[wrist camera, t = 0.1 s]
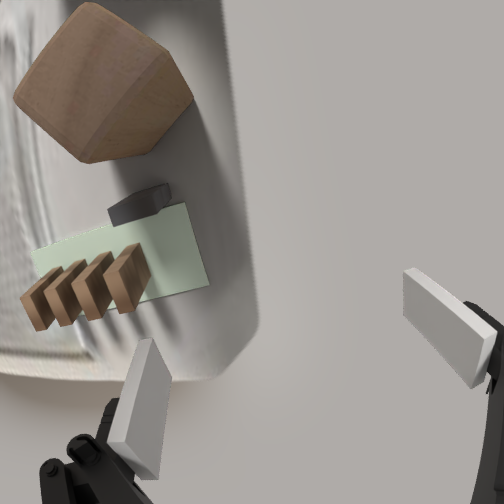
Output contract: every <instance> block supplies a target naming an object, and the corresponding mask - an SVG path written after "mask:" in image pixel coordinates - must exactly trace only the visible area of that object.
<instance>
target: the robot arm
mask: <svg viewBox="0 0 504 504" xmlns="http://www.w3.org/2000/svg"><path fill="white" fill-rule="evenodd" d="M403 289H404V290H403V292H404V308H403V309H404V311H403V315H404V316H405V317H406V318H407V319H408V320H409V321H410V322H411V323H412V324H413V326H414V327H415V328H416V329H417V330H418V331H419V332H420V333H421V334H422V335H423V336H424V337H425V338H426V339H427V341H428V342H429V343H430V344H431V345H432V346H433V347H434V348H435V349H436V350H437V351H438V352H439V354H440V355H441V356H442V357H443V358H444V359H445V360H446V361H447V363H448V364H449V365H450V366H451V367H452V368H453V369H454V370H455V372H456V373H457V374H458V375H459V376H460V377H461V378H462V379H463V381H464V382H465V383H466V384H467V385H468V386H469V388H470V389H472V388H474V387H475V386H477V385H479V384H481V383H482V382H484V379H485V375H486V372H488V373H489V374H490V375H491V379H490V382H489V385H488V388H487V391H486V394H488V392H489V401H488V411H487V412H488V413H487V421H486V429H485V437H484V443H483V449H482V455H481V461H480V466H479V470H478V475H477V479H476V484H475V488H474V492H473V496H472V500H471V503H470V504H504V326H503V325H501V324H500V323H499V322H498V321H497V320H495V319H494V318H493V317H492V316H490V315H489V314H488V313H487V312H485V311H483V309H481V308H480V307H479V306H478V305H476V304H474V303H471V302H468V301H466V302H463V303H462V302H460V301H459V300H458V299H457V298H455V297H454V296H453V295H451V294H450V293H449V292H448V291H446V290H445V289H444V288H442V287H441V286H440V285H438V284H437V283H436V282H434V281H433V280H432V279H430V278H429V277H428V276H426V275H425V274H424V273H422V272H421V271H420V270H418V269H417V268H415V267H414V268H411V269H408V270H405V271H403ZM171 381H172V376H171V374H170V372H169V370H168V368H167V366H166V364H165V362H164V360H163V358H162V356H161V354H160V352H159V350H158V348H157V346H156V344H155V342H154V339H153V337H152V338H147V339H142V340H139V342H138V345H137V348H136V350H135V353H134V356H133V359H132V362H131V365H130V368H129V371H128V374H127V377H126V380H125V383H124V386H123V389H122V393H121V396H120V398H113V399H111V401H110V402H109V403H108V404H107V406H106V407H105V411H104V413H103V417H102V419H101V424H100V425H99V429H98V432H97V435H96V438H95V439H94V438H93V437H92V436H91V435H89V434H80V435H78V436H76V437H74V438H73V439H72V440H71V441H70V442H69V444H68V446H67V455H68V456H69V457H70V458H71V459H72V460H73V461H74V462H73V463H69V464H64V463H63V462H62V461H60V460H59V459H56V458H53V459H49V460H47V461H45V463H44V464H43V465H42V466H41V468H40V473H39V474H40V487H41V496H42V504H153V503H152V501H151V500H150V499H149V498H148V497H147V496H146V494H145V493H144V492H143V491H142V490H141V489H140V487H139V486H138V485H137V484H136V483H135V482H134V476H135V474H136V475H137V476H138V477H139V478H140V479H141V480H158V478H159V470H160V461H161V452H162V444H163V436H164V429H165V421H166V415H167V407H168V400H169V394H170V388H171Z"/></svg>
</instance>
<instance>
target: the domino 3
mask: <svg viewBox="0 0 504 504" xmlns="http://www.w3.org/2000/svg"><path fill="white" fill-rule="evenodd" d="M103 277H104V279H105V282H106V284H107V286H108V289H109V291H110V293H111V296H112V298H113V300H114V303H115V305H116V307H117V309H118V312H119V314H123V313H127V312H132V311H135V309H136V307H137V305H138V303H139V301H140V299H141V296H142V294H143V292H144V290H145V288H146V286H147V284H148V282H149V279H150V277H151V273H150V270H149V268H148V265H147V262H146V259H145V256H144V254H143V251H142V248H141V245H140V242H139V243H136V244H132V245H129V246H126V247H125V249H124V250H123V251H122V252H121V253H120V255H119V256H118V257H117V258H116V259H115V261H114V262H113V263H112V264H111V265H110V267H109V268H108V269H107V270H106V272H105V273H104V274H103Z"/></svg>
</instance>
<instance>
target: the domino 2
mask: <svg viewBox="0 0 504 504" xmlns="http://www.w3.org/2000/svg"><path fill="white" fill-rule="evenodd" d="M114 261H115V260H114V257H113V255H112V252H111V251H108V252H105V253H101V254H99V255H98V256H97V257H96V258H95V259H94V260H93V261H92V262H91V263H90V264H89V265H88V266H87V267H86V268H85V269H84V270H83V271H82V272H81V273H80V275H79V276H78V277H77V278H76V279H75V280H74V281H73V282H72V283H71V285H72V287H73V290H74V292H75V294H76V296H77V299H78V301H79V303H80V305H81V307H82V309H83V311H84V314H85V316H86V318H87V320H88V321H91V320H95V319H100V318H102V317H103V315H104V313H105V312H106V310H107V308H108V307H109V305H110V303H111V302H112V300H113V298H112V296H111V293H110V291H109V289H108V286H107V284H106V282H105V279H104V277H103V274H104V273H105V272H106V270H107V269H108V268H109V267H110V265H111V264H112V263H113V262H114Z"/></svg>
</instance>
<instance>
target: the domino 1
mask: <svg viewBox="0 0 504 504" xmlns="http://www.w3.org/2000/svg"><path fill="white" fill-rule="evenodd" d="M87 266H88V265H87V262H86V260H85V259H82V260H78V261H75V262H74V263H72V264H71V265H70V266H69V267H68V268H67V269H66V270H65V271H64V272H63V273H62V274H61V275H60V276H59V277H58V278H57V279H55V280H54V281H53V282H52V283H51V284H50V285H49V286H48V287H47V288H46V289H45V290H44V291H43V292H44V294H45V296H46V298H47V301H48V303H49V305H50V307H51V309H52V311H53V313H54V315H55V317H56V319H57V321H58V323H59V325H60V327H62V326H67V325H72V324H73V323H74V321H75V320H76V318H77V317H78V316H79V314H80V313H81V311H82V310H83V309H82V307H81V305H80V303H79V301H78V299H77V296H76V294H75V292H74V290H73V287H72V285H71V283H72V282H73V281H74V280H75V279H76V278H77V277H78V276H79V275H80V273H81V272H82V271H83V270H84V269H85V268H86V267H87Z"/></svg>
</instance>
